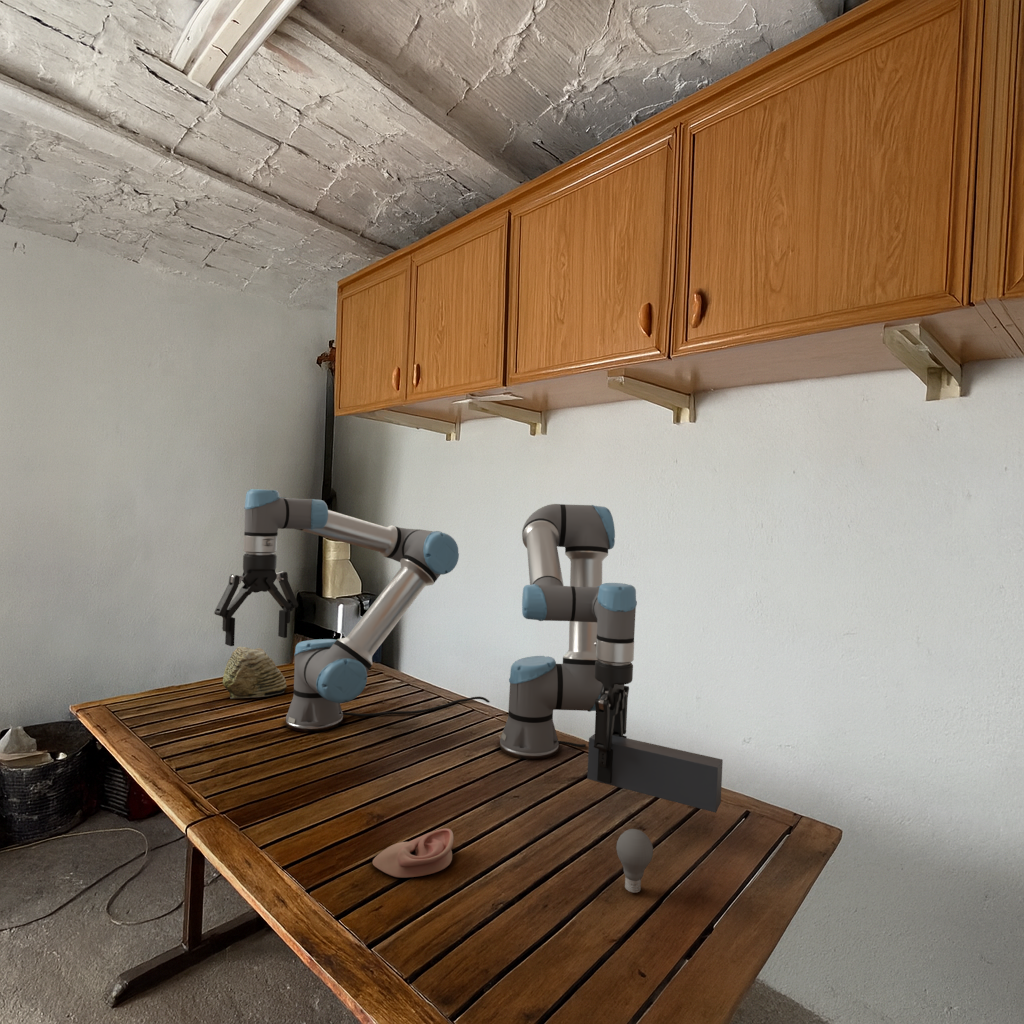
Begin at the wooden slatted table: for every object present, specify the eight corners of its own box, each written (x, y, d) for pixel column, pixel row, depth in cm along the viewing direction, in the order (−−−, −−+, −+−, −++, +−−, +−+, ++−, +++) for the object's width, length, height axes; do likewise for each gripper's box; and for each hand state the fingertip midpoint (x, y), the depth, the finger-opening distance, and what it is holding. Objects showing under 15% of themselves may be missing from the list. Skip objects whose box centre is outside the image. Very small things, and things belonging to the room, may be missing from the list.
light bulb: (610, 879, 108) (613, 822, 108) (644, 879, 109) (647, 822, 109) (619, 902, 102) (622, 840, 102) (655, 901, 103) (658, 840, 103)
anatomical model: (365, 849, 107) (391, 816, 119) (364, 872, 107) (390, 837, 119) (440, 861, 105) (459, 827, 116) (439, 885, 105) (459, 848, 116)
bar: (720, 803, 119) (722, 759, 119) (715, 812, 115) (717, 767, 115) (595, 771, 131) (597, 731, 131) (587, 779, 127) (588, 738, 127)
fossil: (218, 695, 195) (220, 647, 195) (278, 685, 208) (279, 640, 207) (228, 703, 189) (230, 653, 188) (289, 692, 201) (290, 645, 201)
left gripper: (216, 556, 141) (213, 651, 141) (314, 552, 160) (311, 636, 160) (200, 553, 145) (197, 645, 146) (297, 550, 165) (294, 631, 165)
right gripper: (611, 650, 137) (606, 758, 137) (579, 666, 121) (574, 788, 121) (645, 655, 133) (640, 766, 133) (617, 673, 118) (611, 798, 118)
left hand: (257, 641), depth 153 cm, fingers open, 13 cm apart
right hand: (609, 776), depth 127 cm, fingers closed on bar, 5 cm apart
